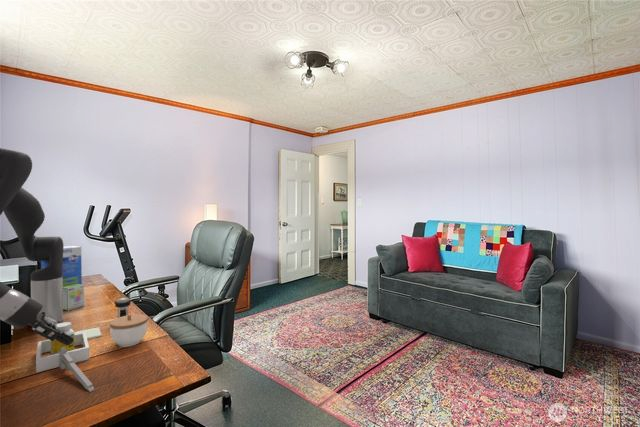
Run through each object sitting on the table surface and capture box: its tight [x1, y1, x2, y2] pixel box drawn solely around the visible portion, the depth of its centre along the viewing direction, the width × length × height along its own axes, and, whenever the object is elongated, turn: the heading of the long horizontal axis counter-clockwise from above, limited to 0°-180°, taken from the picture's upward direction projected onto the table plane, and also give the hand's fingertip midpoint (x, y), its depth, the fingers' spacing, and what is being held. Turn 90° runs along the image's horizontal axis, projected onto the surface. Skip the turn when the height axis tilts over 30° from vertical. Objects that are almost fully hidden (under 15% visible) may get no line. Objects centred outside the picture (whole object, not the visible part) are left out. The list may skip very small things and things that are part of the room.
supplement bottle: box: [50, 321, 75, 355], centre depth 93 cm, size 5×5×10 cm
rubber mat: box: [74, 326, 102, 340], centre depth 108 cm, size 9×9×1 cm
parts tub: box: [35, 332, 90, 373], centre depth 94 cm, size 12×15×4 cm
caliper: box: [58, 347, 96, 393], centre depth 82 cm, size 20×1×6 cm, turn 57°
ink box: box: [62, 276, 86, 312], centre depth 137 cm, size 7×4×13 cm, turn 161°
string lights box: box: [40, 245, 83, 284], centre depth 145 cm, size 13×8×26 cm, turn 153°
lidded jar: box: [109, 313, 149, 348], centre depth 103 cm, size 11×11×9 cm
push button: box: [114, 297, 132, 318], centre depth 118 cm, size 7×5×10 cm
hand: (70, 338), depth 95 cm, fingers closed on supplement bottle, 5 cm apart
